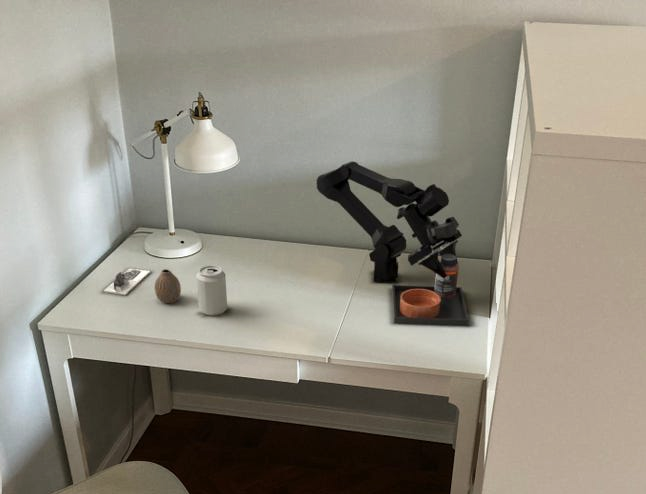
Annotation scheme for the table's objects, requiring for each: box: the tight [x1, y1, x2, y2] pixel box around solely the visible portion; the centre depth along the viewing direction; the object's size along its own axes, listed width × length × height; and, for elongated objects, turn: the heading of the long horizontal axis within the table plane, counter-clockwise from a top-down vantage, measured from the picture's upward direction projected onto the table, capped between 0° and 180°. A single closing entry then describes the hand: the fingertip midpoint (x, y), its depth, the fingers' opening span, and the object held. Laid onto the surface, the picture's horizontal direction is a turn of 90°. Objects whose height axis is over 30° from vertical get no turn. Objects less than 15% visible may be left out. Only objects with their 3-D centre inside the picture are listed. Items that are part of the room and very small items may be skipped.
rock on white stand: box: [103, 267, 151, 296], centre depth 223 cm, size 15×7×4 cm, turn 165°
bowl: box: [400, 289, 441, 318], centre depth 212 cm, size 11×11×4 cm
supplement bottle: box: [434, 254, 460, 298], centre depth 215 cm, size 6×6×11 cm
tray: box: [391, 284, 470, 327], centre depth 215 cm, size 19×19×2 cm
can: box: [196, 264, 228, 317], centre depth 208 cm, size 8×8×12 cm
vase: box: [154, 268, 182, 304], centre depth 213 cm, size 7×7×9 cm
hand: (451, 273), depth 214 cm, fingers closed on supplement bottle, 6 cm apart
